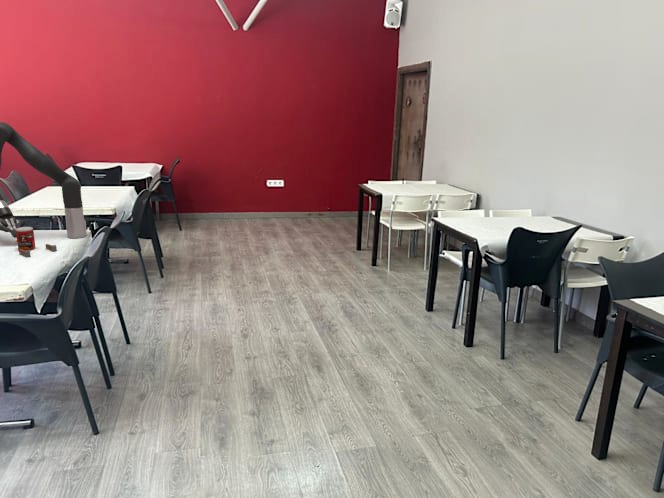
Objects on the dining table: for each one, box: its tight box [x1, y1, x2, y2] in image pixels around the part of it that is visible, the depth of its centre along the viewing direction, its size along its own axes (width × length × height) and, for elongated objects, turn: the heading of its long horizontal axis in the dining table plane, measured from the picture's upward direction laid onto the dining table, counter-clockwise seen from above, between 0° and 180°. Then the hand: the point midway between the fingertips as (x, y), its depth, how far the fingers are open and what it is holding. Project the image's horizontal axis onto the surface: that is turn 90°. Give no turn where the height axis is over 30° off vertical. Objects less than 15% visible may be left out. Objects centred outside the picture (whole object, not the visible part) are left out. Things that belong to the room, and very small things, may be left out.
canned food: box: [16, 226, 36, 251], centre depth 258 cm, size 8×8×11 cm
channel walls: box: [18, 243, 53, 257], centre depth 254 cm, size 14×6×2 cm, turn 148°
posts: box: [24, 244, 58, 258], centre depth 252 cm, size 15×2×3 cm, turn 148°
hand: (16, 236), depth 263 cm, fingers closed
